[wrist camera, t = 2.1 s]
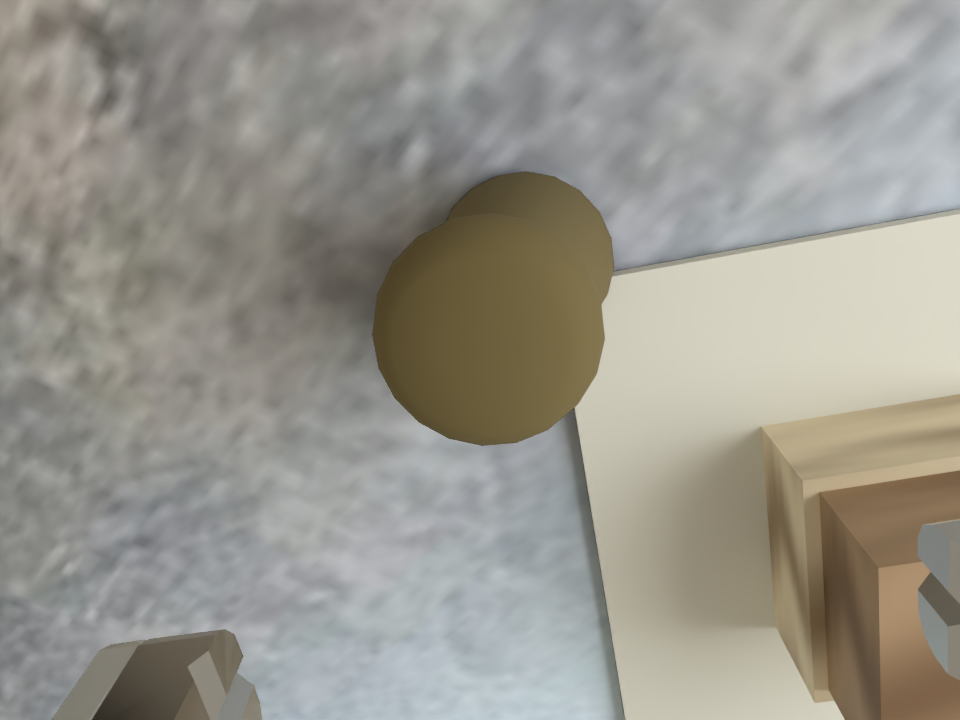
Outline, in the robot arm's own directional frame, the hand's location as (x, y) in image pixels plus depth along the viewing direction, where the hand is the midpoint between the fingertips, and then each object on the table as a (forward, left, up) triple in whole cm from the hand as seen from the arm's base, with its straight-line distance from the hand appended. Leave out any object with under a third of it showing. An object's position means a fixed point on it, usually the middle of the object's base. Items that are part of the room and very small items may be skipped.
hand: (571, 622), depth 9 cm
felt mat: (+12, +12, -19) cm, 25 cm away
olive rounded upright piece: (0, 0, -19) cm, 19 cm away
